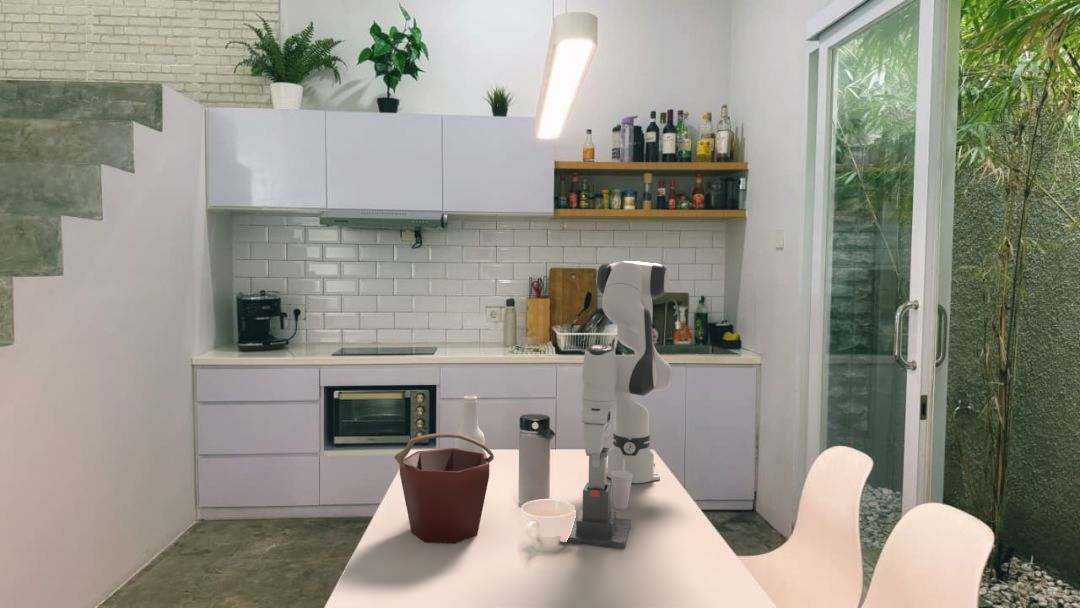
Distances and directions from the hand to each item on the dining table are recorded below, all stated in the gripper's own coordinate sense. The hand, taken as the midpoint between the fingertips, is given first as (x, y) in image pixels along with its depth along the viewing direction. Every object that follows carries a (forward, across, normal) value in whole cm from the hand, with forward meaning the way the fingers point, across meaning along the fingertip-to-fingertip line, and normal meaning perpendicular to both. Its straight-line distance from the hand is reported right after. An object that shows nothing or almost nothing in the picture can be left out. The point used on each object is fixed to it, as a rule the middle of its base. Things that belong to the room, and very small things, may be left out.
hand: (597, 463), depth 174 cm
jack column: (+14, 0, 0) cm, 14 cm away
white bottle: (+18, -17, -40) cm, 47 cm away
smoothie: (+18, -21, +4) cm, 28 cm away
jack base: (+18, 0, 0) cm, 18 cm away
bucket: (+18, +8, -38) cm, 43 cm away
